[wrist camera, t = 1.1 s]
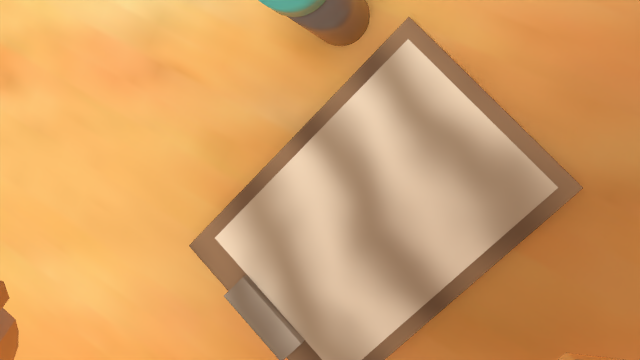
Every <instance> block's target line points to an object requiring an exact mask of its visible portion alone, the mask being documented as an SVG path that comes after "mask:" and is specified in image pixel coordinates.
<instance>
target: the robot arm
mask: <svg viewBox="0 0 640 360" xmlns="http://www.w3.org/2000/svg"><path fill="white" fill-rule="evenodd" d="M8 299H9V296H8V293H7V290H6V287H5V284H4V282H3V281H0V360H14V357H15V354H16V351H17V348H18V333H19V331H18V327H17V324H16V320H15V319H14V318H13V317H12V316H11V315H10V314H9V313H8V312H7V311H6V310H5V309H3V306H4V305H5V303H6V302H7V301H8ZM558 360H624V359H616V358H608V357H599V356H591V355H582V354H574V353H565V354H563V355H562V356H561V357H559V359H558Z"/></svg>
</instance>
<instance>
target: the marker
mask: <svg viewBox="0 0 640 360" xmlns="http://www.w3.org/2000/svg"><path fill="white" fill-rule="evenodd" d="M259 1H260V2H262V3H263V4H265V5H266V6H268V7H269V8H271V9H272V10H274V11H276V12H277V13H279V14H281V15H284V16H287V17H289V18H290V19H292V20H293V21H295V22H296V23H298V24H299V25H301V26H303V27H304V28H306V29H307V30H309V31H310V32H312V33H313V34H315V35H317V36H318V37H320V38H321V39H323V40H324V41H326V42H327V43H329V44H332V45H336V46H345V45H349V44H352V43H354V42H355V41H357V40H358V39H359V38H360V37H361V36H362V35H363V34H364V32H365V31H366V29H367V26H368V23H369V17H370V14H369V8H368V5H367V2H366V1H365V0H259Z"/></svg>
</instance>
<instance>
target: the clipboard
mask: <svg viewBox="0 0 640 360" xmlns="http://www.w3.org/2000/svg"><path fill="white" fill-rule="evenodd" d="M581 189H583V187H582V186H581V185H580V184H579V183H578V182H577V181H576V180H575V179H574V178H572V177H571V176H570V175H569V174H568V173H567V172H566V171H565V170H564V169H563V168H562V167H561V166H560V165H559V164H558V163H557V162H556V161H555V160H554V159H553V158H552V157H551V156H550V155H549V154H548V153H547V152H546V151H545V150H544V149H543V148H542V147H541V146H540V145H539V144H538V143H537V142H536V141H535V140H534V139H533V138H532V137H531V136H530V135H529V134H528V133H527V132H526V131H525V130H524V129H523V128H522V127H521V126H520V125H519V124H518V123H517V122H516V121H514V120H513V119H512V118H511V117H510V116H509V115H508V114H507V113H506V112H505V111H504V110H503V109H502V108H501V107H500V106H499V105H498V104H497V103H496V102H495V101H494V100H493V99H492V98H491V97H490V96H489V95H488V94H487V93H486V92H485V91H484V90H483V89H482V88H481V87H480V86H479V85H478V84H477V83H476V82H475V81H474V80H473V79H472V78H471V77H470V76H469V75H468V74H467V73H466V72H465V71H464V70H463V69H462V68H461V67H460V66H459V65H458V64H457V63H455V62H454V61H453V60H452V59H451V58H450V57H449V56H448V55H447V54H446V53H445V52H444V51H443V50H442V49H441V48H440V47H439V46H438V45H437V44H436V43H435V42H434V41H433V40H432V39H431V38H430V37H429V36H428V35H427V34H426V33H425V32H424V31H423V30H422V29H421V28H420V27H419V26H418V25H417V24H416V23H415V22H414V21H413V20H412V19H411V18H410V17H408V18H407V19H406V20H405V21H404V23H403V24H402V25H401V26H400V27H399V28H398V29H397V30H396V31H395V32H394V33H393V34H392V35H391V36H390V37H389V38H388V39H387V40H386V41H385V42H384V43H383V44H382V45H381V46H380V47H379V49H378V50H377V51H376V52H375V53H374V54H373V55H372V56H371V57H370V58H369V59H368V60H367V61H366V62H365V63H364V64H363V65H362V66H361V67H360V68H359V69H358V70H357V71H356V72H355V74H354V75H353V76H352V77H351V78H350V79H349V80H348V81H347V82H346V83H345V84H344V85H343V86H342V87H341V88H340V89H339V90H338V91H337V92H336V93H335V94H334V95H333V96H332V97H331V98H330V100H329V101H328V102H327V103H326V104H325V105H324V106H323V107H322V108H321V109H320V110H319V111H318V112H317V113H316V114H315V115H314V116H313V117H312V118H311V119H310V120H309V121H308V122H307V123H306V124H305V126H304V127H303V128H302V129H301V130H300V131H299V132H298V133H297V134H296V135H295V136H294V137H293V138H292V139H291V140H290V141H289V142H288V143H287V144H286V145H285V146H284V147H283V148H282V149H281V150H280V152H279V153H278V154H277V155H276V156H275V157H274V158H273V159H272V160H271V161H270V162H269V163H268V164H267V165H266V166H265V167H264V168H263V169H262V170H261V171H260V172H259V173H258V174H257V175H256V176H255V178H254V179H253V180H252V181H251V182H250V183H249V184H248V185H247V186H246V187H245V188H244V189H243V190H242V191H241V192H240V193H239V194H238V195H237V196H236V197H235V198H234V199H233V200H232V201H231V202H230V204H229V205H228V206H227V207H226V208H225V209H224V210H223V211H222V212H221V213H220V214H219V215H218V216H217V217H216V218H215V219H214V220H213V221H212V222H211V223H210V224H209V225H208V226H207V227H206V228H205V230H204V231H203V232H202V233H201V234H200V235H199V236H198V237H197V238H196V239H195V240H194V241H193V242H192V243H191V244H190V245H189V246H190V248H191V249H192V250H193V251H194V252H195V253H196V254H197V256H198V257H199V258H200V259H201V260H202V261H203V262H204V264H205V265H206V266H207V267H208V268H209V269H210V270H211V272H212V273H213V274H214V275H215V276H216V277H217V278H218V280H219V281H220V282H221V283H222V284H223V285H224V286H225V288H226V289H227V290H228V292H227V293H226V294H225V295H224V297H225V298H226V299H227V300H228V301H229V303H230V304H231V305H232V306H233V307H234V308H235V309H236V311H237V312H238V313H239V314H240V315H241V316H242V317H243V319H244V320H245V321H246V322H247V323H248V324H249V325H250V327H251V328H252V329H253V330H254V331H255V332H256V334H257V335H258V336H259V337H260V338H261V339H262V340H263V342H264V343H265V344H266V345H267V346H268V347H269V348H270V350H271V351H272V352H273V353H274V354H275V355H276V357H277V358H278V359H279V360H284V359H285V358H286V357H287V359H288V360H385V359H386V358H387V357H388V356H389V355H390V354H392V353H393V352H394V351H395V350H396V349H397V348H399V347H400V346H401V345H402V344H403V343H404V342H406V341H407V340H408V339H409V338H410V337H411V336H412V335H414V334H415V333H416V332H417V331H418V330H419V329H421V328H422V327H423V326H424V325H425V324H426V323H428V322H429V321H430V320H431V319H432V318H433V317H434V316H436V315H437V314H438V313H439V312H440V311H441V310H443V309H444V308H445V307H446V306H447V305H448V304H450V303H451V302H452V301H453V300H454V299H455V298H456V297H458V296H459V295H460V294H461V293H462V292H463V291H465V290H466V289H467V288H468V287H469V286H470V285H471V284H473V283H474V282H475V281H476V280H477V279H478V278H480V277H481V276H482V275H483V274H484V273H485V272H487V271H488V270H489V269H490V268H491V267H492V266H493V265H495V264H496V263H497V262H498V261H499V260H500V259H502V258H503V257H504V256H505V255H506V254H507V253H509V252H510V251H511V250H512V249H513V248H514V247H515V246H517V245H518V244H519V243H520V242H521V241H522V240H524V239H525V238H526V237H527V236H528V235H529V234H531V233H532V232H533V231H534V230H535V229H536V228H537V227H539V226H540V225H541V224H542V223H543V222H544V221H546V220H547V219H548V218H549V217H550V216H551V215H553V214H554V213H555V212H556V211H557V210H558V209H559V208H561V207H562V206H563V205H564V204H565V203H566V202H568V201H569V200H570V199H571V198H572V197H573V196H574V195H576V194H577V193H578V192H579V191H580V190H581Z"/></svg>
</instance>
